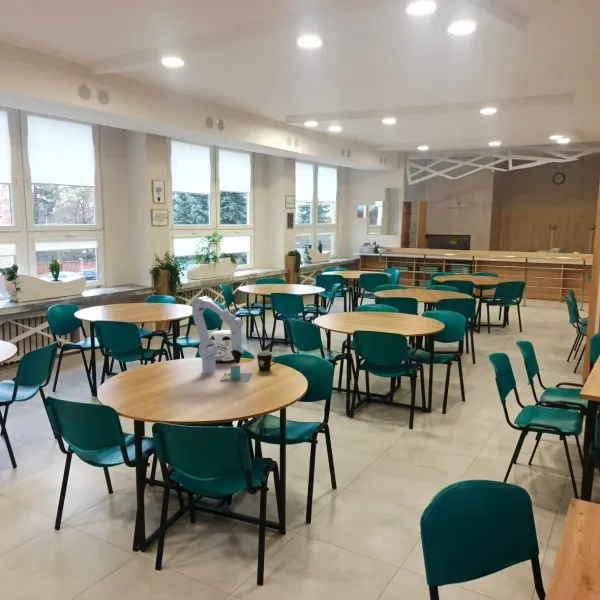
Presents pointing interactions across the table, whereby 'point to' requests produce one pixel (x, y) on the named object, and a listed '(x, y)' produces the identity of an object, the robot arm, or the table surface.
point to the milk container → (222, 345)
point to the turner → (226, 377)
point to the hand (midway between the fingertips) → (237, 363)
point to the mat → (244, 378)
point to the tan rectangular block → (235, 372)
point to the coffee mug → (265, 361)
